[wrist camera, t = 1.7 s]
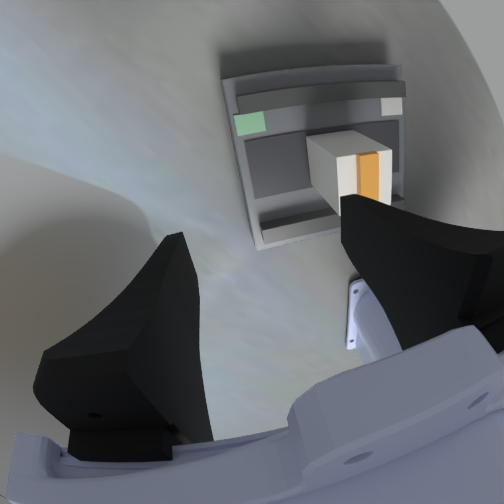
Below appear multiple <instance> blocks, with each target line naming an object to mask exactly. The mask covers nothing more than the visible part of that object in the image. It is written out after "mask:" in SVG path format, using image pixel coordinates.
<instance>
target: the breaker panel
mask: <svg viewBox="0 0 504 504" xmlns="http://www.w3.org/2000/svg"><path fill="white" fill-rule="evenodd" d="M220 80H221V85H222V90H223V95H224V100H225V105H226V110H227V115H228V120H229V125H230V130H231V135H232V140H233V145H234V150H235V155H236V160H237V165H238V170H239V174H240V179H241V184H242V189H243V194H244V199H245V204H246V209H247V214H248V219H249V224H250V230H251V235H252V238H253V241H254V244H255V248H256V251H259V250H263V249H267V248H271V247H276V246H280V245H284V244H289V243H293V242H297V241H302V240H306V239H310V238H314V237H319V236H323V235H327V234H332V233H336V232H340V231H341V216H339V215H338V214H337V213H336V211H335V210H334V209H333V208H332V207H331V206H330V205H329V203H328V202H327V201H326V200H325V199H324V198H323V197H322V196H321V194H320V193H319V192H318V191H317V190H316V189H315V188H314V187H313V186H312V184H311V180H310V170H309V160H308V151H307V142H306V136H312V135H319V134H326V133H333V132H341V131H349V130H354V131H356V132H358V133H360V134H362V135H364V136H366V137H368V138H370V139H372V140H374V141H376V142H378V143H380V144H382V145H384V146H386V147H388V148H390V149H392V189H391V205H390V206H392V207H395V208H398V209H401V210H403V211H404V208H405V199H403V185H404V102H403V97H406V91H405V82H404V81H402V72H401V65H391V64H343V65H325V66H311V67H300V68H291V69H282V70H274V71H267V72H260V73H253V74H247V75H241V76H236V77H230V78H225V79H220Z"/></svg>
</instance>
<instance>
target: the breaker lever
mask: <svg viewBox="0 0 504 504" xmlns="http://www.w3.org/2000/svg"><path fill="white" fill-rule="evenodd" d="M306 142H307V151H308V160H309V170H310V180H311V184H312V186H313V187H314V188H315V189H316V190H317V191H318V192H319V193H320V194H321V196H322V197H323V198H324V199H325V200H326V201H327V202H328V203H329V205H330V206H331V207H332V208H333V209H334V210H335V211H336V213H337V214H338V215H339V216H341V214H340V196H345V195H350V194H358V195H362V196H365V197H368V198H371V199H374V200H377V201H379V202H382V203H385V204H387V205H391V189H392V149H390V148H388V147H386V146H384V145H382V144H380V143H378V142H376V141H374V140H372V139H370V138H368V137H366V136H364V135H362V134H360V133H358V132H356V131H354V130H349V131H341V132H333V133H326V134H319V135H312V136H306Z"/></svg>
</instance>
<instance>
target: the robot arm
mask: <svg viewBox="0 0 504 504" xmlns="http://www.w3.org/2000/svg"><path fill="white" fill-rule="evenodd" d="M340 214H341V243H342V245H343V247H344V249H345V251H346V253H347V255H348V257H349V258H350V260H351V262H352V264H353V265H354V266H355V268H356V269H357V271H358V272H359V274H360V275H361V277H362V279H359V280H355V281H353V282H352V283H351V284H350V288H349V309H348V324H347V338H346V348H347V349H349V350H350V349H353V348H356V349H357V351H358V353H359V355H360V357H361V359H362V361H363V363H364V365H362V366H359V367H357V368H354V369H350V370H347V371H344V372H342V373H339V374H337V375H335V376H333V377H331V378H328V379H326V380H324V381H321V382H319V383H317V384H315V385H314V386H312V387H311V388H310V389H309V390H307V391H306V392H305V393H304V394H302V395H301V396H300V397H298V398H297V399H296V400H295V402H294V403H293V404H292V407H291V409H290V412H289V414H288V417H287V421H288V427H284V428H280V429H276V430H271V431H267V432H262V433H257V434H252V435H247V436H242V437H236V438H230V439H224V440H218V441H214V439H213V435H212V430H211V425H210V420H209V415H208V409H207V404H206V398H205V391H204V385H203V378H202V370H201V362H200V350H199V321H200V296H199V287H198V278H197V274H196V271H195V268H194V265H193V262H192V259H191V256H190V253H189V250H188V247H187V244H186V241H185V238H184V235H183V232H179V233H175V234H171V235H167V236H166V237H165V238H164V239H163V241H162V242H161V243H160V245H159V246H158V247H157V249H156V250H155V252H154V253H153V254H152V256H151V257H150V258H149V260H148V261H147V263H146V264H145V265H144V266H143V268H142V269H141V270H140V271H139V273H138V274H137V275H136V276H135V278H134V279H133V280H132V282H131V283H130V284H129V285H128V286H127V287H126V288H125V289H124V290H123V291H122V292H121V293H120V295H118V296H117V297H116V298H115V299H114V300H113V301H112V302H111V303H110V304H109V305H108V306H107V307H106V308H104V309H103V310H102V311H101V312H100V313H99V314H98V315H97V316H95V318H93V319H92V320H91V321H89V322H88V323H87V324H85V325H84V326H83V327H81V328H80V329H79V330H77V331H76V332H74V333H73V334H71V335H70V336H68V337H67V338H65V339H64V340H62V341H60V342H59V343H57V344H56V345H54V346H52V347H51V348H49V349H47V350H45V351H44V352H43V356H42V359H41V362H40V365H39V368H38V371H37V374H36V377H35V381H34V384H33V392H34V394H35V396H36V398H37V400H38V401H39V403H40V404H41V405H42V406H43V407H44V408H45V409H46V410H47V411H48V412H49V413H50V414H52V415H53V416H54V417H55V418H56V419H57V420H59V421H60V422H61V423H62V424H64V425H65V426H66V427H67V428H69V429H70V436H69V444H68V448H65V447H60V446H59V445H58V444H57V443H56V442H54V441H53V440H52V439H50V438H48V437H46V436H43V435H39V434H29V433H16V437H15V442H14V447H13V452H12V457H11V463H10V469H9V476H8V484H7V491H6V499H7V500H8V501H9V502H11V503H14V504H504V231H492V230H482V229H474V228H467V227H462V226H457V225H452V224H447V223H443V222H439V221H435V220H431V219H428V218H424V217H421V216H418V215H415V214H412V213H409V212H406V211H403V210H401V209H398V208H395V207H392V206H390V205H387V204H385V203H382V202H379V201H377V200H374V199H371V198H368V197H365V196H362V195H358V194H350V195H345V196H340ZM354 290H355V291H354Z"/></svg>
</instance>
